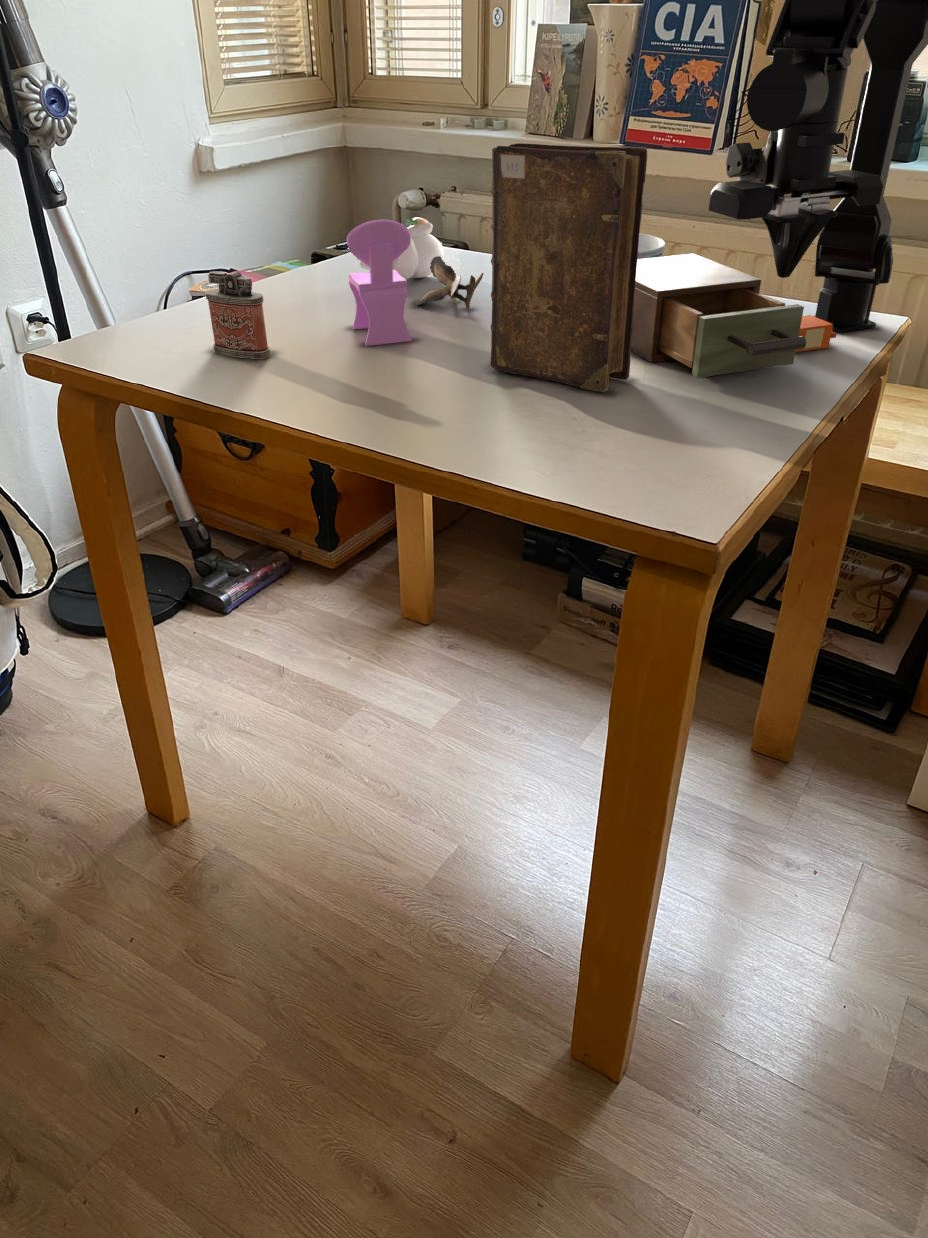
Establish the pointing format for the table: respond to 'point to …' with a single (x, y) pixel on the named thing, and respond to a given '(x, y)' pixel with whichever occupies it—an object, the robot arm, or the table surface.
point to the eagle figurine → (449, 284)
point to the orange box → (815, 333)
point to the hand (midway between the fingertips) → (783, 276)
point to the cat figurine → (417, 251)
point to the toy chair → (379, 280)
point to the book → (565, 260)
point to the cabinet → (675, 293)
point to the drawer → (729, 331)
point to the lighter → (237, 316)
